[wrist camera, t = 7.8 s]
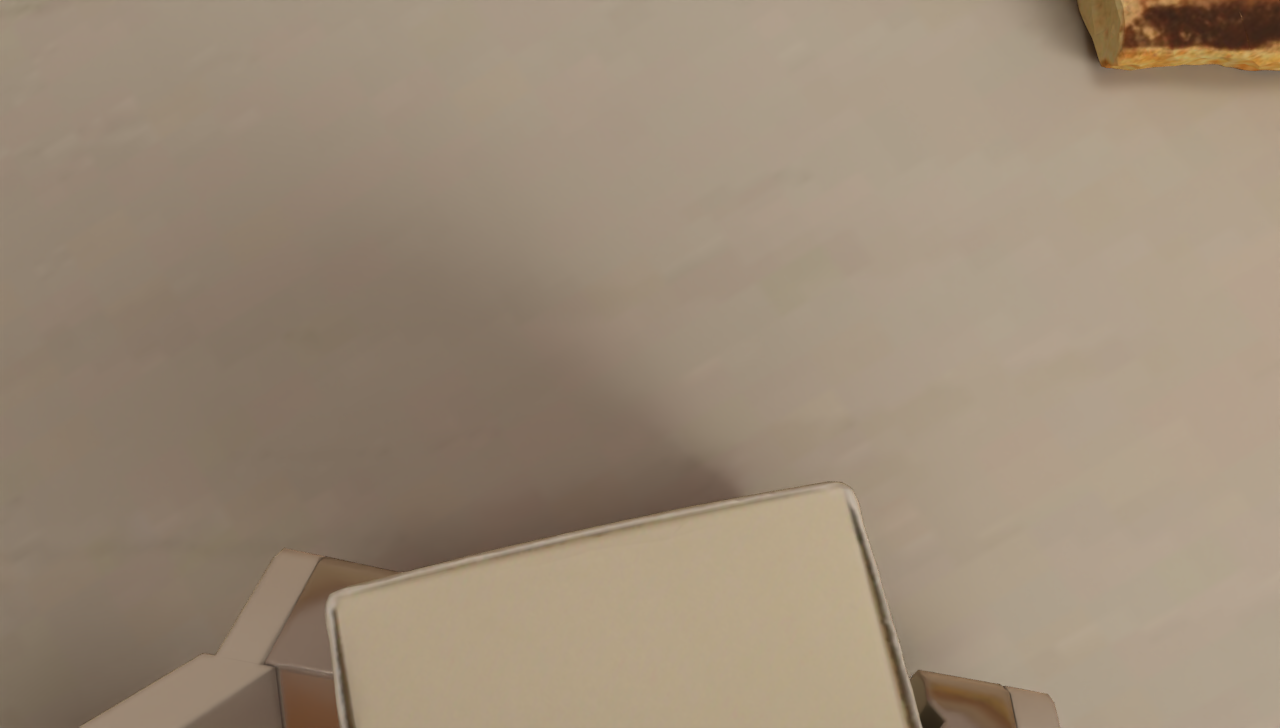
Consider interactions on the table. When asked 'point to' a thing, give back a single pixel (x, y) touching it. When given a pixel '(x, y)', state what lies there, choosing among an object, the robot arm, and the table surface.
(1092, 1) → the shard
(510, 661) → the small box
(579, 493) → the table surface
